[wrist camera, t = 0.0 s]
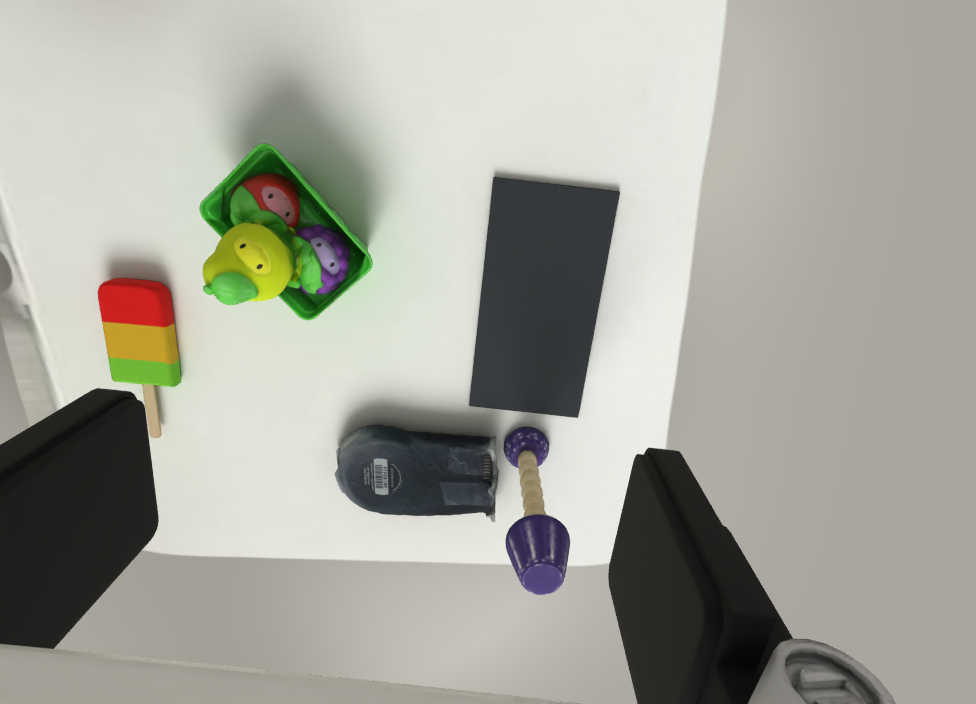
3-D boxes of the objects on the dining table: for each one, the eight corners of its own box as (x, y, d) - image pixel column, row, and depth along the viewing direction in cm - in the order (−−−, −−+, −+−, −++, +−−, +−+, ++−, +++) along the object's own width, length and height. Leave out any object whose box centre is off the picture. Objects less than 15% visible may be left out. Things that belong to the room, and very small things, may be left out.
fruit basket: (390, 251, 46) (357, 283, 35) (316, 316, 48) (263, 364, 37) (291, 138, 43) (221, 135, 32) (216, 212, 45) (128, 232, 35)
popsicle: (171, 280, 47) (159, 286, 45) (190, 435, 53) (179, 445, 51) (107, 275, 47) (92, 280, 45) (132, 430, 52) (119, 440, 51)
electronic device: (494, 412, 52) (332, 419, 51) (502, 448, 48) (323, 457, 46) (491, 487, 57) (342, 495, 55) (498, 527, 52) (335, 538, 50)
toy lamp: (560, 433, 51) (585, 559, 36) (545, 475, 53) (564, 613, 37) (510, 421, 51) (514, 543, 36) (497, 463, 53) (495, 598, 37)
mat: (493, 176, 44) (493, 177, 43) (619, 191, 44) (620, 191, 43) (469, 404, 51) (469, 406, 50) (577, 415, 51) (578, 417, 50)
